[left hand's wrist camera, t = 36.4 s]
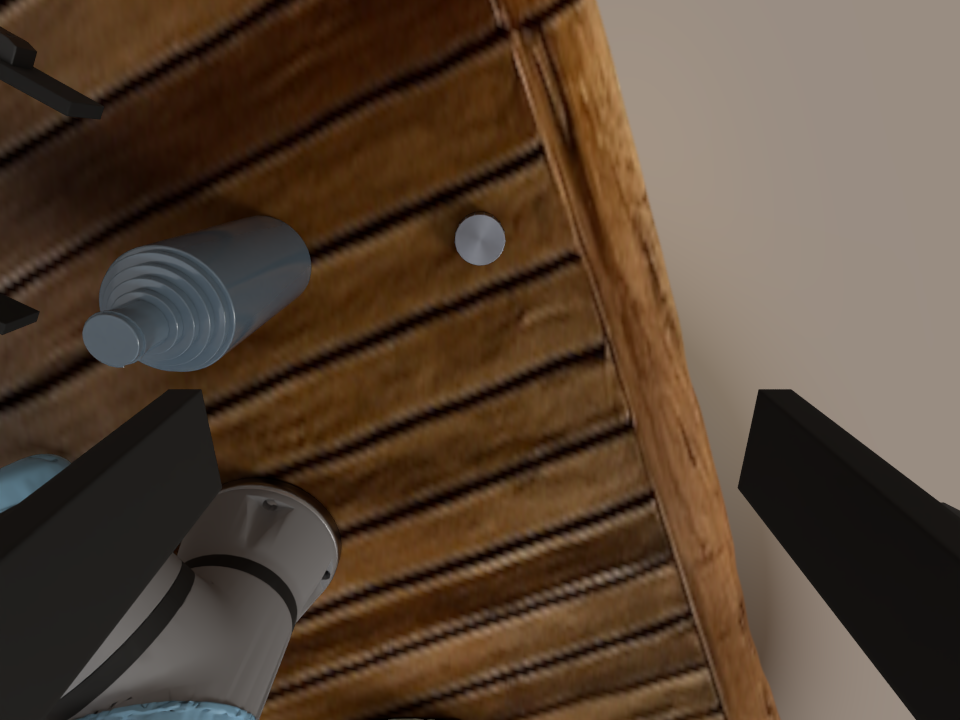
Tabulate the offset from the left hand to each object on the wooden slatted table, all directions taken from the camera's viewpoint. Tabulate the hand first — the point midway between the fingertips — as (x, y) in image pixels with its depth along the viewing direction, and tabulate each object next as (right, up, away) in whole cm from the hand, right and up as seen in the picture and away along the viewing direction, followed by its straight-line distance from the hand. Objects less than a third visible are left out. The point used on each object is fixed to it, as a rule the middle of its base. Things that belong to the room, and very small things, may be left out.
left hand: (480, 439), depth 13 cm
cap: (0, +11, +29) cm, 31 cm away
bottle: (-18, +10, +31) cm, 37 cm away
